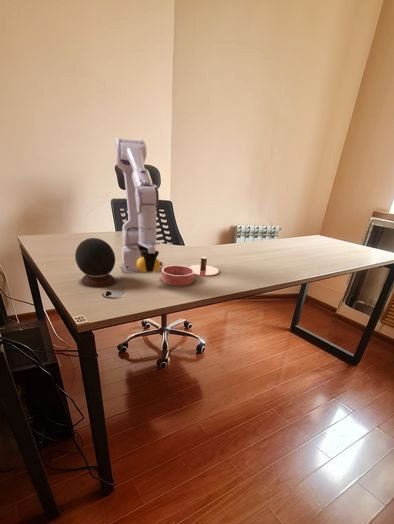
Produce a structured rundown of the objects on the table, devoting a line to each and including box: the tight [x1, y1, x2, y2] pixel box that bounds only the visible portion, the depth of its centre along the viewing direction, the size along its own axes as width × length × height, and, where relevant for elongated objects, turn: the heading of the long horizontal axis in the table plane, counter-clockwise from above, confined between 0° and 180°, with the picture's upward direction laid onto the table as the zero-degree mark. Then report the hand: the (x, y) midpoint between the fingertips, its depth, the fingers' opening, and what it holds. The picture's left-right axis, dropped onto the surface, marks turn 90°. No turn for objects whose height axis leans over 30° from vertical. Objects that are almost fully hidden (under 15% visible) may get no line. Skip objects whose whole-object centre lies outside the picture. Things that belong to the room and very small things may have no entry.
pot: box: [161, 264, 195, 286], centre depth 115 cm, size 12×12×4 cm
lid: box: [188, 256, 220, 277], centre depth 125 cm, size 13×13×6 cm
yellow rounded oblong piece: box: [136, 257, 164, 273], centre depth 105 cm, size 9×5×5 cm, turn 108°
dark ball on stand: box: [74, 237, 116, 288], centre depth 106 cm, size 13×13×15 cm
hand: (148, 268), depth 106 cm, fingers closed on yellow rounded oblong piece, 5 cm apart
